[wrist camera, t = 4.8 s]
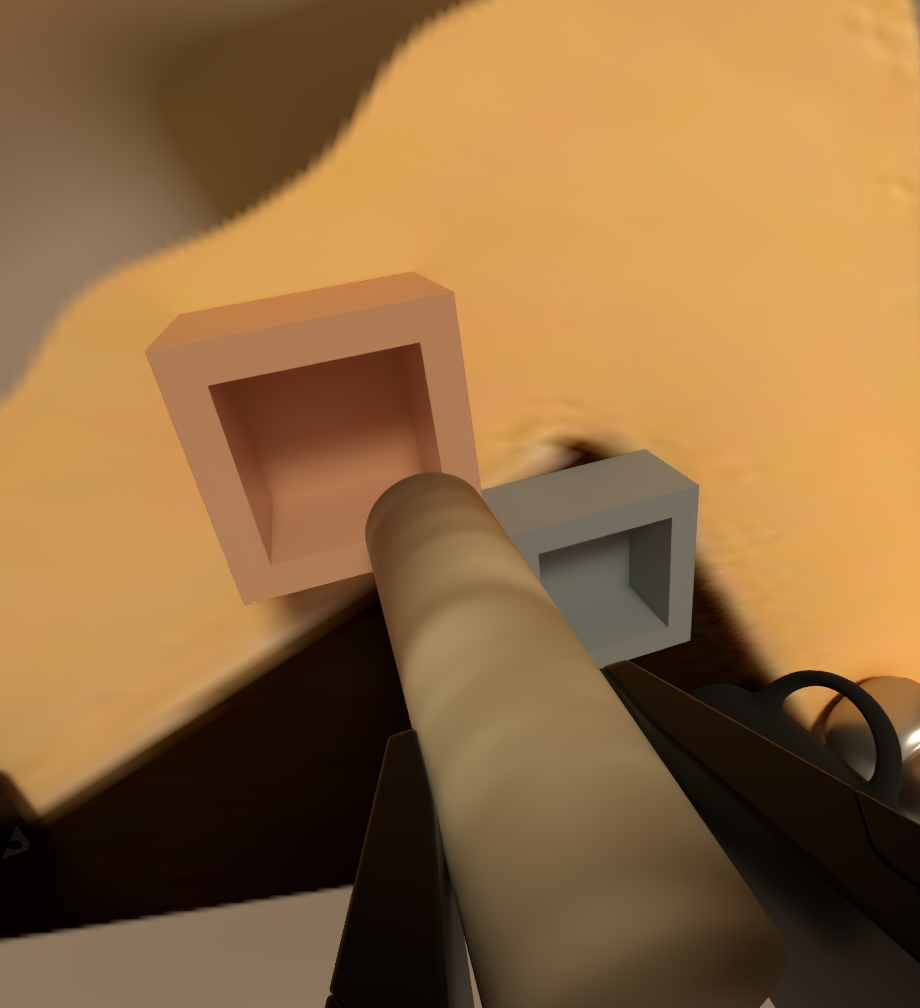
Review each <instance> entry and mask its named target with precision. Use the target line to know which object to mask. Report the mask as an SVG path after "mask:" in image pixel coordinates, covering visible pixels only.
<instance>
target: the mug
mask: <svg viewBox="0 0 920 1008" xmlns="http://www.w3.org/2000/svg"><path fill="white" fill-rule="evenodd" d="M809 686H824V687H828V688H830V689H833V690H835V691H837V692H839V693H841V694H842V695H844V696H845V697H846V698H848V699H849V700H850V701H851V702H852V703H853V704H854V705H855V706H856V707H857V708H858V710H859V711H860V712H861V714H862V715H863V717H864V718H865V720H866V721H867V723H868V725H869V727H870V730H871V732H872V735H873V738H874V742H875V747H876V765H875V770H874V773H873V775H872V778H871V779H870V780H869V781H867V780H866V779H865V778H864V777H863V776H861V775H860V774H859V773H858V772H857V771H856V770H854V769H853V768H852V767H851V766H850V765H849V764H847V763H846V762H845V761H844V760H843V759H841V758H840V757H839V756H838V755H837V754H836V753H834V752H833V751H832V750H831V749H830V748H828V747H827V746H826V745H825V744H823V743H822V742H821V741H820V740H819V739H817V738H816V737H815V736H814V735H812V734H811V733H810V732H809V731H807V730H806V729H805V728H803V727H802V726H801V725H800V724H798V723H797V722H796V721H794V720H793V719H792V718H791V717H789V716H788V715H787V714H786V713H785V712H784V710H783V702H784V700H785V699H786V698H787V696H788V695H790V694H791V693H793V692H794V691H796V690H798V689H801V688H804V687H809ZM686 693H687V694H688V695H690V696H692V697H694V698H695V699H697V700H699V701H701V702H703V703H704V704H706V705H708V706H710V707H711V708H713V709H715V710H717V711H718V712H720V713H722V714H724V715H726V716H727V717H729V718H731V719H733V720H734V721H736V722H738V723H740V724H742V725H743V726H745V727H747V728H749V729H750V730H752V731H754V732H756V733H757V734H759V735H761V736H763V737H765V738H766V739H768V740H770V741H772V742H773V743H775V744H777V745H779V746H780V747H782V748H784V749H786V750H788V751H789V752H791V753H793V754H795V755H796V756H798V757H800V758H802V759H804V760H805V761H807V762H809V763H811V764H812V765H814V766H816V767H818V768H819V769H821V770H823V771H825V772H827V773H828V774H830V775H832V776H834V777H835V778H837V779H839V780H841V781H842V782H844V783H846V784H848V785H850V786H851V787H852V788H853V790H854V792H855V791H856V790H858V791H861V792H862V793H864V794H866V795H868V796H869V797H871V798H873V799H875V800H877V801H878V802H880V803H882V804H884V805H885V806H887V807H889V808H891V809H893V810H895V811H896V812H898V813H900V814H902V815H904V816H906V815H905V814H904V813H903V812H902V811H901V810H899V809H898V805H897V799H898V794H899V789H900V784H901V777H902V752H901V746H900V743H899V739H898V736H897V733H896V731H895V728H894V726H893V724H892V722H891V721H890V719H889V717H888V715H887V714H886V713H885V711H884V710H883V709H882V707H881V706H880V705H879V704H878V703H877V701H876V700H875V699H874V698H873V697H872V696H871V695H870V694H869V693H867V692H866V691H865V690H864V689H863V688H861V687H860V686H858V685H857V684H855V683H854V682H852V681H850V680H848V679H846V678H844V677H841V676H839V675H836V674H833V673H829V672H824V671H813V670H806V671H798V672H794V673H790V674H788V675H785V676H783V677H781V678H779V679H777V680H775V681H774V682H772V683H770V684H769V685H768V686H766V687H765V688H763V689H762V690H760V691H758V692H755V693H752V692H749V691H747V690H745V689H742V688H740V687H737V686H733V685H729V684H710V685H705V686H701V687H698V688H695V689H693V690H691V691H688V692H686ZM906 817H907V816H906Z"/></svg>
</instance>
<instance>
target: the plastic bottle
mask: <svg viewBox="0 0 920 1008" xmlns="http://www.w3.org/2000/svg"><path fill="white" fill-rule="evenodd" d="M859 686H860V687H861V688H863V689H864V690H865V691H866V692H867V693H869V694H870V695H871V696H872V697H873V698H874V699H875V700H876V701H877V703H878V704H879V705H880V706H881V707H882V709H883V710H884V711H885V713H886V714H887V715H888V717H889V719H890V721H891V722H892V724H893V726H894V728H895V731H896V733H897V736H898V739H899V743H900V746H901V752H902V777H901V784H900V789H899V794H898V799H897V805H898V809H899V810H901V811H902V812H903V813H904V814H905V815H906V816H907V817H908V818H909V819H911V820H913V821H915V822H917V823H919V824H920V683H918V682H916V681H914V680H911V679H908V678H902V677H895V676H881V677H876V678H874V679H871V680H868V681H866V682H864V683H862V684H861V685H859ZM824 736H825V740H826V745H827V747H828V748H830V749H831V750H832V751H833V752H834V753H836V754H837V755H838V756H839V757H840V758H841V759H843V760H844V761H845V762H846V763H847V764H849V765H850V766H851V767H852V768H853V769H854V770H856V771H857V772H858V773H859V774H860V775H861V776H863V777H864V778H865V779H866V780H867V781H869V780H870V779H871V778H872V775H873V773H874V770H875V765H876V747H875V742H874V738H873V735H872V732H871V730H870V727H869V725H868V723H867V721H866V720H865V718H864V717H863V715H862V714H861V712H860V711H859V710H858V708H857V707H856V706H855V705H854V704H853V703H852V702H851V701H850V700H849V699H848V698H846V697H845V696H844V697H843V698H842V699H841V700H840V701H839V702H838V704H837V705H836V706H835V707H834V708H833V710H832V711H831V713H830V714H829V716H828V718H827V720H826V723H825V727H824Z"/></svg>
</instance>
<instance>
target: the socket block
mask: <svg viewBox="0 0 920 1008" xmlns="http://www.w3.org/2000/svg"><path fill="white" fill-rule="evenodd" d="M481 492H482V499H483V500H484V502H485V503H486V505H487V506H488V508H489V509H490V510H491V512H492V513H493V515H494V516H495V518H496V519H497V521H498V522H499V524H500V525H501V527H502V528H503V529H504V531H505V532H506V534H507V535H508V537H509V538H510V540H511V541H512V543H513V544H514V546H515V547H516V548H517V550H518V551H519V553H520V554H521V556H522V557H523V559H524V560H525V562H526V563H527V564H528V566H529V567H530V569H531V570H532V572H533V573H534V575H535V576H536V578H537V579H538V581H539V582H540V583H541V585H542V586H543V588H544V589H545V591H546V592H547V594H548V595H549V597H550V598H551V600H552V601H553V602H554V604H555V605H556V607H557V608H558V610H559V611H560V613H561V614H562V616H563V617H564V619H565V620H566V621H567V623H568V624H569V626H570V627H571V629H572V630H573V632H574V633H575V635H576V636H577V637H578V639H579V640H580V642H581V643H582V645H583V646H584V648H585V649H586V651H587V652H588V654H589V655H590V656H591V658H592V659H593V661H594V662H595V664H596V665H597V667H598V668H599V669H601V668H603V667H604V666H606V665H609V664H613V663H616V662H619V661H622V660H629V659H632V658H636V657H639V656H642V655H645V654H648V653H651V652H655V651H658V650H661V649H664V648H667V647H670V646H674V645H677V644H680V643H683V642H686V641H690V634H691V617H692V600H693V582H694V565H695V548H696V531H697V514H698V496H699V485H698V484H697V483H695V482H694V481H692V480H691V479H689V478H688V477H686V476H685V475H683V474H682V473H680V472H679V471H677V470H676V469H674V468H673V467H671V466H670V465H668V464H667V463H665V462H664V461H662V460H661V459H659V458H658V457H656V456H655V455H653V454H652V453H650V452H649V451H647V450H646V449H645V450H641V451H637V452H633V453H629V454H625V455H621V456H617V457H613V458H609V459H605V460H601V461H597V462H593V463H589V464H585V465H581V466H577V467H573V468H569V469H565V470H562V471H558V472H554V473H550V474H546V475H542V476H538V477H534V478H530V479H526V480H522V481H518V482H514V483H510V484H506V485H502V486H498V487H494V488H490V489H486V490H482V491H481Z"/></svg>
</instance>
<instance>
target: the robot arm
mask: <svg viewBox="0 0 920 1008" xmlns="http://www.w3.org/2000/svg"><path fill="white" fill-rule="evenodd" d="M601 673H602V674H603V675H604V677H605V678H606V680H607V681H608V683H609V684H610V686H611V687H612V689H613V690H614V692H615V693H616V694H617V696H618V697H619V699H620V700H621V702H622V703H623V705H624V706H625V708H626V709H627V710H628V712H629V713H630V715H631V716H632V718H633V719H634V721H635V722H636V724H637V725H638V727H639V728H640V729H641V731H642V732H643V734H644V735H645V737H646V738H647V740H648V741H649V743H650V744H651V746H652V747H653V748H654V750H655V751H656V753H657V754H658V756H659V757H660V759H661V760H662V762H663V763H664V765H665V766H666V767H667V769H668V770H669V772H670V773H671V775H672V776H673V778H674V779H675V781H676V782H677V784H678V785H679V786H680V788H681V789H682V791H683V792H684V794H685V795H686V797H687V798H688V800H689V801H690V802H691V804H692V805H693V807H694V808H695V810H696V811H697V813H698V814H699V816H700V817H701V819H702V820H703V821H704V823H705V824H706V826H707V827H708V829H709V830H710V832H711V833H712V835H713V836H714V838H715V839H716V840H717V842H718V843H719V845H720V846H721V848H722V849H723V851H724V852H725V854H726V855H727V857H728V858H729V859H730V861H731V862H732V864H733V865H734V867H735V868H736V870H737V871H738V873H739V874H740V875H741V877H742V878H743V880H744V881H745V883H746V884H747V886H748V887H749V889H750V890H751V892H752V893H753V894H754V896H755V897H756V899H757V900H758V902H759V903H760V905H761V906H762V908H763V909H764V911H765V912H766V913H767V915H768V916H769V918H770V919H771V921H772V922H773V924H774V925H775V927H776V928H777V930H778V931H779V932H780V934H781V935H782V937H783V939H784V941H785V943H786V948H787V960H786V965H785V968H784V971H783V973H782V975H781V977H780V980H779V982H778V983H777V985H776V987H775V988H774V990H773V991H772V993H771V994H770V995H769V998H770V1000H771V1002H772V1003H773V1005H774V1006H775V1008H920V824H919V823H917V822H915V821H913V820H911V819H909V818H908V817H906V816H904V815H902V814H900V813H898V812H896V811H895V810H893V809H891V808H889V807H887V806H885V805H884V804H882V803H880V802H878V801H877V800H875V799H873V798H871V797H869V796H868V795H866V794H864V793H862V792H861V791H858V790H856V791H855V792H854V790H853V788H852V787H851V786H850V785H848V784H846V783H844V782H842V781H841V780H839V779H837V778H835V777H834V776H832V775H830V774H828V773H827V772H825V771H823V770H821V769H819V768H818V767H816V766H814V765H812V764H811V763H809V762H807V761H805V760H804V759H802V758H800V757H798V756H796V755H795V754H793V753H791V752H789V751H788V750H786V749H784V748H782V747H780V746H779V745H777V744H775V743H773V742H772V741H770V740H768V739H766V738H765V737H763V736H761V735H759V734H757V733H756V732H754V731H752V730H750V729H749V728H747V727H745V726H743V725H742V724H740V723H738V722H736V721H734V720H733V719H731V718H729V717H727V716H726V715H724V714H722V713H720V712H718V711H717V710H715V709H713V708H711V707H710V706H708V705H706V704H704V703H703V702H701V701H699V700H697V699H695V698H694V697H692V696H690V695H688V694H687V693H685V692H683V691H681V690H680V689H678V688H676V687H674V686H672V685H671V684H669V683H667V682H665V681H664V680H662V679H660V678H658V677H657V676H655V675H653V674H651V673H649V672H648V671H646V670H644V669H642V668H641V667H639V666H637V665H635V664H633V663H632V662H630V661H626V660H622V661H619V662H616V663H613V664H609V665H606V666H604V667H603V668H602V671H601ZM32 838H33V832H32V831H31V829H30V828H29V827H28V825H27V824H26V823H25V822H24V820H23V819H22V818H21V816H20V815H19V814H18V813H17V811H16V810H15V809H14V808H13V806H12V805H11V804H10V802H9V801H8V800H7V799H6V797H5V796H4V795H3V793H2V792H1V791H0V863H1V861H2V859H3V858H6V857H9V856H12V855H15V854H19V853H21V852H24V851H26V850H27V849H28V848H29V846H30V843H31V841H32ZM330 992H331V994H332V995H330V996H328V998H327V1001H326V1005H325V1008H474V1001H473V994H472V987H471V981H470V974H469V967H468V960H467V953H466V946H465V939H464V932H463V928H462V924H461V920H460V916H459V912H458V908H457V904H456V900H455V896H454V893H453V889H452V885H451V881H450V877H449V873H448V869H447V864H446V859H445V854H444V849H443V843H442V837H441V831H440V826H439V820H438V815H437V811H436V806H435V802H434V798H433V794H432V790H431V786H430V782H429V778H428V774H427V770H426V767H425V763H424V759H423V755H422V751H421V747H420V743H419V739H418V735H417V732H416V731H415V730H414V729H410V730H407V731H404V732H400V733H397V734H394V735H392V736H390V737H389V739H388V741H387V745H386V750H385V754H384V758H383V762H382V767H381V771H380V775H379V779H378V784H377V788H376V792H375V797H374V801H373V805H372V809H371V814H370V818H369V822H368V827H367V831H366V835H365V839H364V844H363V848H362V852H361V856H360V861H359V865H358V869H357V874H356V878H355V882H354V886H353V891H352V895H351V899H350V904H349V908H348V912H347V917H346V921H345V925H344V929H343V934H342V938H341V942H340V946H339V951H338V955H337V959H336V963H335V968H334V972H333V977H332V981H331V985H330Z"/></svg>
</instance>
